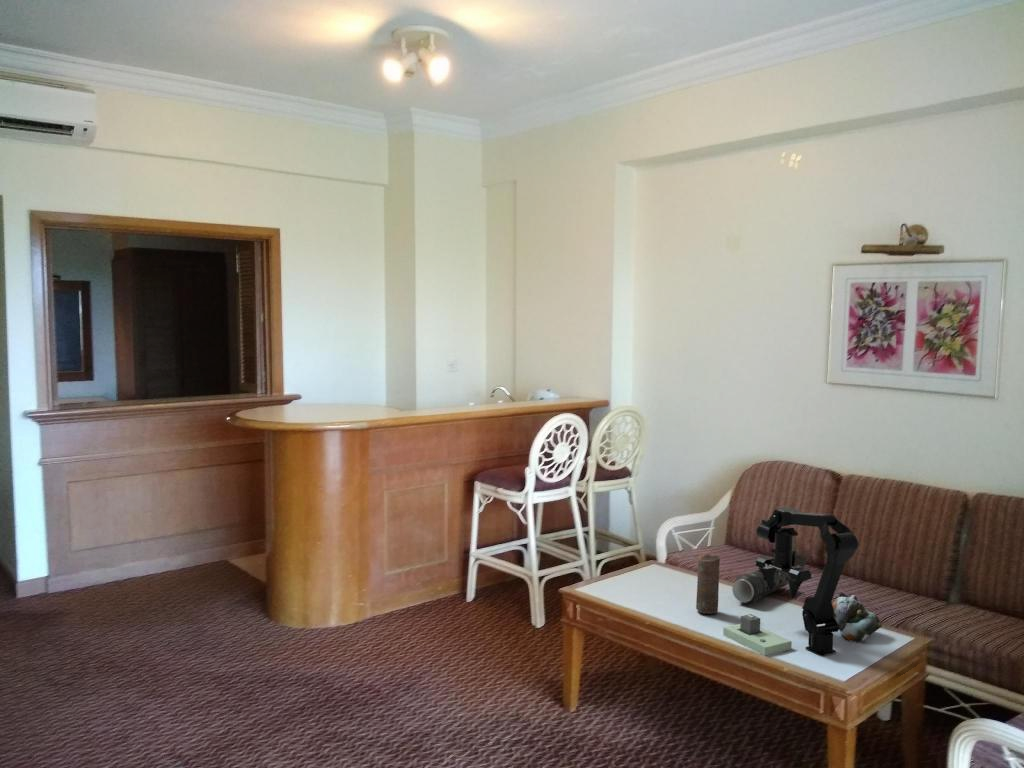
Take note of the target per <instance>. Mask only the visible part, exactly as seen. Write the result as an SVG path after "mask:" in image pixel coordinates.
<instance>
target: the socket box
mask: <svg viewBox="0 0 1024 768" xmlns="http://www.w3.org/2000/svg"><path fill="white" fill-rule="evenodd" d="M740 625H741V623H738V624H737V623H736V624H734V625H729V626H723V628H722V630H723V631H722V632H723V636H724V637H726V638H728V639H730V640H732V641H734V642H737V643H738V644H741V645H743V646H744V647H747V648H748V649H751V650H753V651H755V652H757V653H759V654H761V655H763V656H767V655H768V656H770V655H772V654H777V653H781V652H786V651H790V650H792V648H793V647H792V645H793V644H792V643H793V642H792V640H790V639H788V638H786V637H783V636H781V635H779V634H777V633H775V632H772V631H770V630H768V629H766V628H764V627H761V626H760V633H759V634H755V635H750V636H749V635H747V634H745V633H743V632H741V631H740Z"/></svg>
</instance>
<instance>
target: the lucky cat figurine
mask: <svg viewBox="0 0 1024 768" xmlns="http://www.w3.org/2000/svg"><path fill="white" fill-rule="evenodd" d="M832 605H833V608H834V612H833V615H834V617H835V619H836V621H837V623H838V625H839V630H838V631H839V632H840V633H841V634H842V635H843V637H844V638H845V639H846V640H848V641H849V642H850V641H851V642H855V641H856V643H860V642H862V641H865V640H866V639H868V638H869V637H871V635H872V634H874V633H875V632H876V631H878V630H879V629H881V628H882V626H883V623H882V621H881V620H880V618H879V617H878V615H877V614H876V613H874V612H873V611H869V610H866V608H865V605H863V603H862V602H861V601H859V600H858V598H857V595H854V594H853V595H851V596H847V595H846V594H845V593H843V592H839V593H838V596H837V598H836V599H835V600H834V602H832Z"/></svg>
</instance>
